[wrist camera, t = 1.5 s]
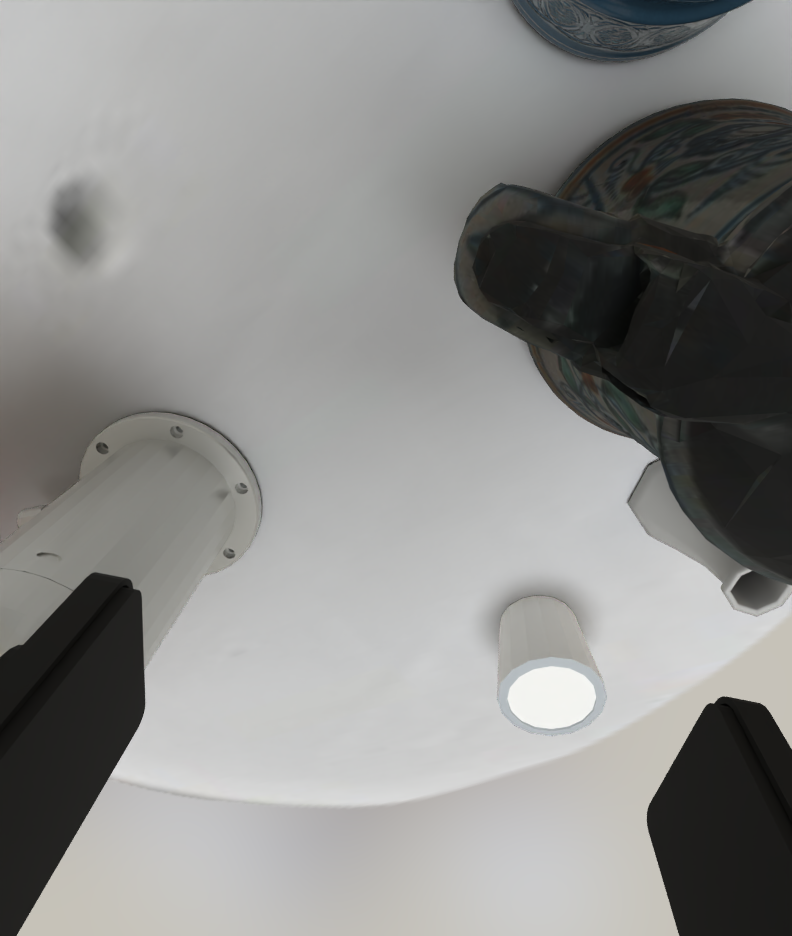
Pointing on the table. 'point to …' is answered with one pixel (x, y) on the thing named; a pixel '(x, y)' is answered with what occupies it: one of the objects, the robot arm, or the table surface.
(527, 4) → the canister
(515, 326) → the beer stein
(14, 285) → the table surface
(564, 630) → the grey cylinder
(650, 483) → the flask
